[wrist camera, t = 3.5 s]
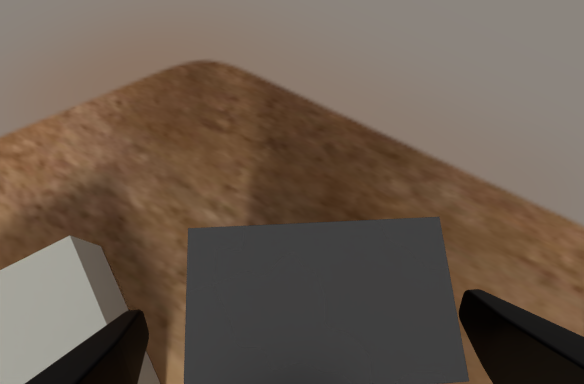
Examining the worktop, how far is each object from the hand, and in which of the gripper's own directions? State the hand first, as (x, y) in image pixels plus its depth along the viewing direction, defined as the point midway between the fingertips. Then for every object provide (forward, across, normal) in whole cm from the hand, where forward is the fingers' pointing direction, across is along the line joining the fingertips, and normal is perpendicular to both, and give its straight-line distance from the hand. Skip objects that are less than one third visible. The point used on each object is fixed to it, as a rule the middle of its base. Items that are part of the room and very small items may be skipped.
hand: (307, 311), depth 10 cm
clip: (+6, 0, -6) cm, 9 cm away
